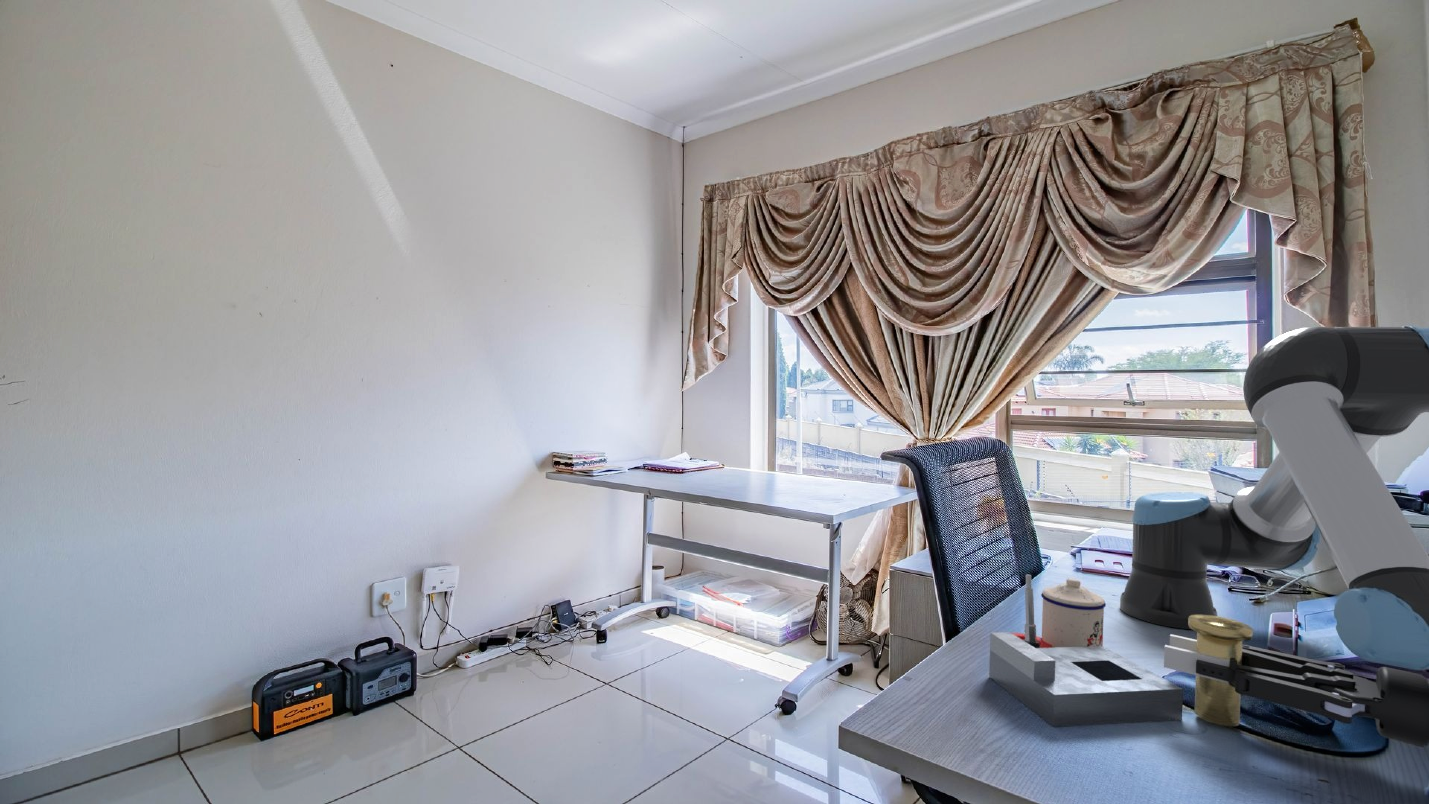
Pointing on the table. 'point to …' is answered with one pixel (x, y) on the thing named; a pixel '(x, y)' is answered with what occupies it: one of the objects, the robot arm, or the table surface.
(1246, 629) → the brass flanged peg
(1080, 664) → the jig
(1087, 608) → the teacup with lid
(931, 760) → the table surface
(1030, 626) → the tow hook
